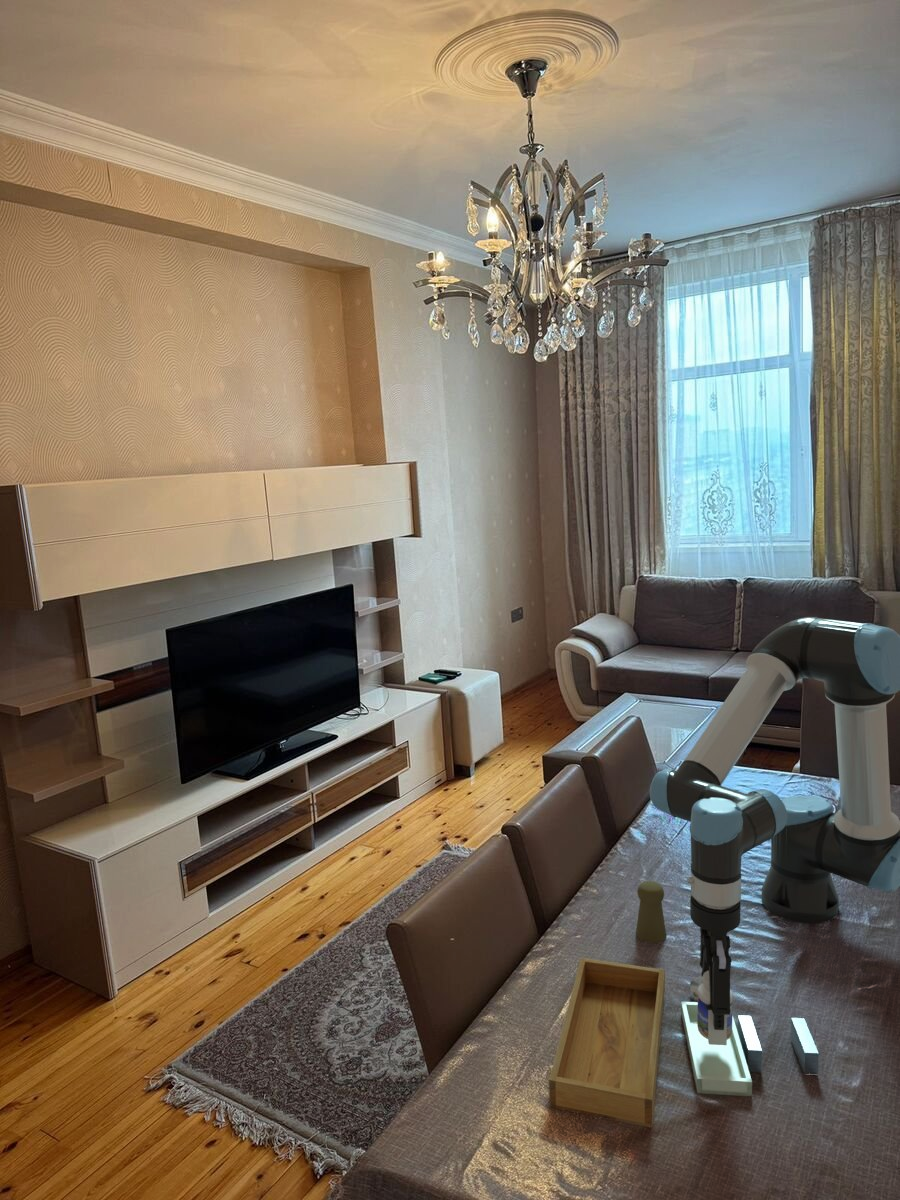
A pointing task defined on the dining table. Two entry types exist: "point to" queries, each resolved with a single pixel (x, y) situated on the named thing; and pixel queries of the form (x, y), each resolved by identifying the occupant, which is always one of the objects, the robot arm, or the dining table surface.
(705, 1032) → the pill bottle
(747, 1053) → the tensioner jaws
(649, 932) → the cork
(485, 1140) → the dining table surface
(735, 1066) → the tray
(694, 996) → the silver pot lid
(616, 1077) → the tray
